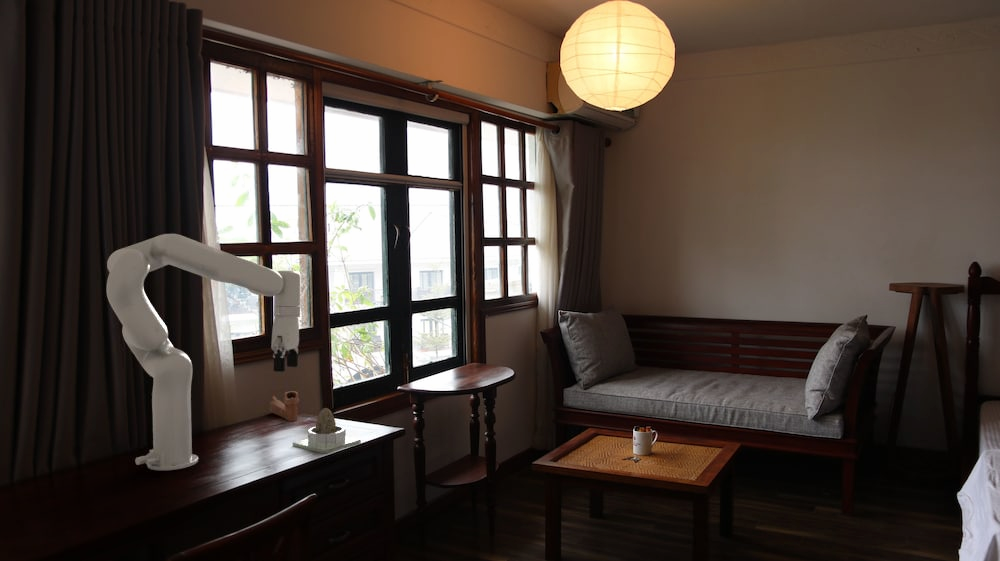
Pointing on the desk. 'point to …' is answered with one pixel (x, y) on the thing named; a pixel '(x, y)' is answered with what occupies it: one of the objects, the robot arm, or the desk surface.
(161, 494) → the desk surface
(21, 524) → the desk surface
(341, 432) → the duct collar
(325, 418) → the decorative egg
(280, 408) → the pipe
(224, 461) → the desk surface
